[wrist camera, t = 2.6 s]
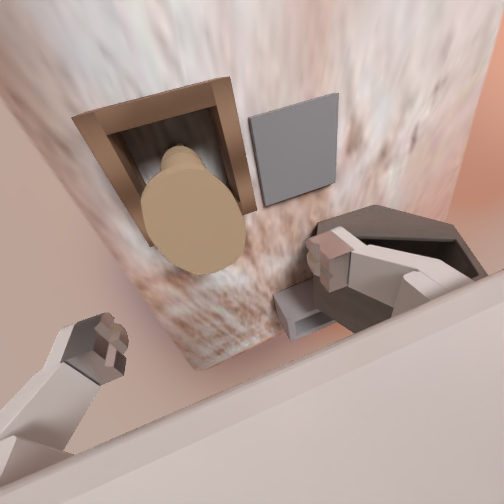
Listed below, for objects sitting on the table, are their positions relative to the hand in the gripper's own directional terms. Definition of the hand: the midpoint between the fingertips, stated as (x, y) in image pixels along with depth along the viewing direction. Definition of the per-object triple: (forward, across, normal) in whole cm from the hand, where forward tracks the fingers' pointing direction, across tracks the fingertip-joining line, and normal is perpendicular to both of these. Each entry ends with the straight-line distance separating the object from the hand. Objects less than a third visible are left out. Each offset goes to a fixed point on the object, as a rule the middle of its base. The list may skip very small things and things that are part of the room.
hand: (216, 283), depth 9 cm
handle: (+19, 0, -1) cm, 19 cm away
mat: (+19, -13, +2) cm, 23 cm away
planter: (+20, -20, +18) cm, 33 cm away
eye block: (+19, 0, 0) cm, 19 cm away
